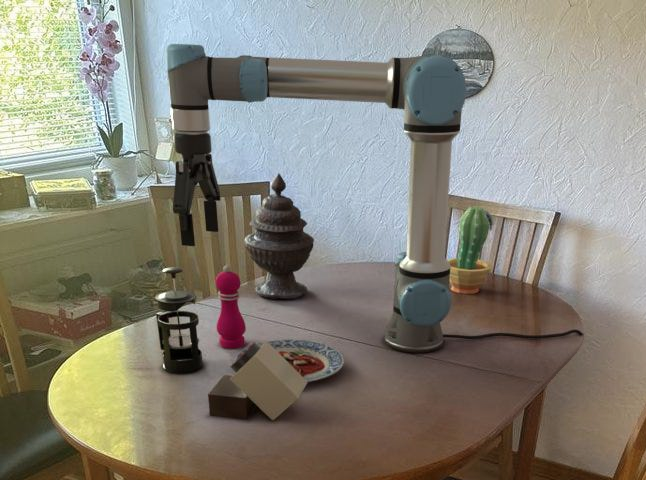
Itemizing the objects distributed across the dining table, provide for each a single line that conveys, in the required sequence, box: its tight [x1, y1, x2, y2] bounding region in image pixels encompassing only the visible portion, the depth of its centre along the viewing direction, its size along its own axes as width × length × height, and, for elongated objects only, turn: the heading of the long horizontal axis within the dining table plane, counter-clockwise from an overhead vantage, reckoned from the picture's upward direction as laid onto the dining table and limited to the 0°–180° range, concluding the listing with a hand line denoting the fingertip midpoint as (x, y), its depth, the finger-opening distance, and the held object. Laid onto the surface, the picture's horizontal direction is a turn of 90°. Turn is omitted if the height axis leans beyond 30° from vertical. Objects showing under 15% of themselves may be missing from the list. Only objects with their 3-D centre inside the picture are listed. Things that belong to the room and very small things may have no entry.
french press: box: [154, 267, 205, 375], centre depth 160 cm, size 12×9×23 cm
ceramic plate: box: [234, 339, 345, 383], centre depth 167 cm, size 26×26×3 cm
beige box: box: [229, 340, 309, 421], centre depth 144 cm, size 15×8×15 cm, turn 80°
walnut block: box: [207, 374, 258, 421], centre depth 148 cm, size 8×10×5 cm
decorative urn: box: [244, 172, 315, 300], centre depth 206 cm, size 20×20×35 cm
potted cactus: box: [446, 205, 494, 295], centre depth 218 cm, size 15×15×25 cm
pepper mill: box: [214, 264, 247, 350], centre depth 174 cm, size 7×7×20 cm
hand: (200, 238), depth 156 cm, fingers open, 13 cm apart
